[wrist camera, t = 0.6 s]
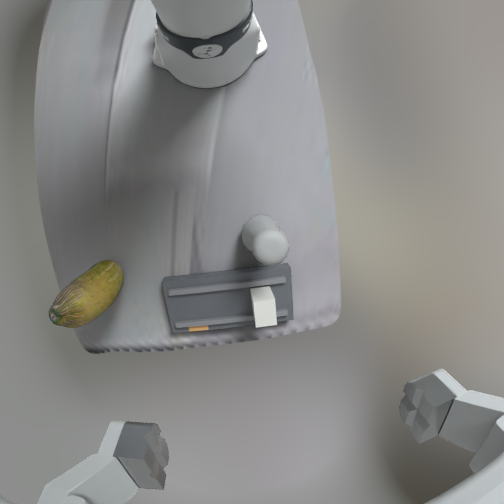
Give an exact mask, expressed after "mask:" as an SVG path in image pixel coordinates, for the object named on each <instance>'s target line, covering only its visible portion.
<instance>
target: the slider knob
mask: <svg viewBox="0 0 504 504" xmlns="http://www.w3.org/2000/svg"><path fill="white" fill-rule="evenodd" d="M250 292H251V301H252V310H253V316H254V320H255V325H256V328H257V327H264V326H272V325H277V317H276V305H275V298H274V295H273V293H272V291H271V288H270V286H266V287H258V288H250Z"/></svg>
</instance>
